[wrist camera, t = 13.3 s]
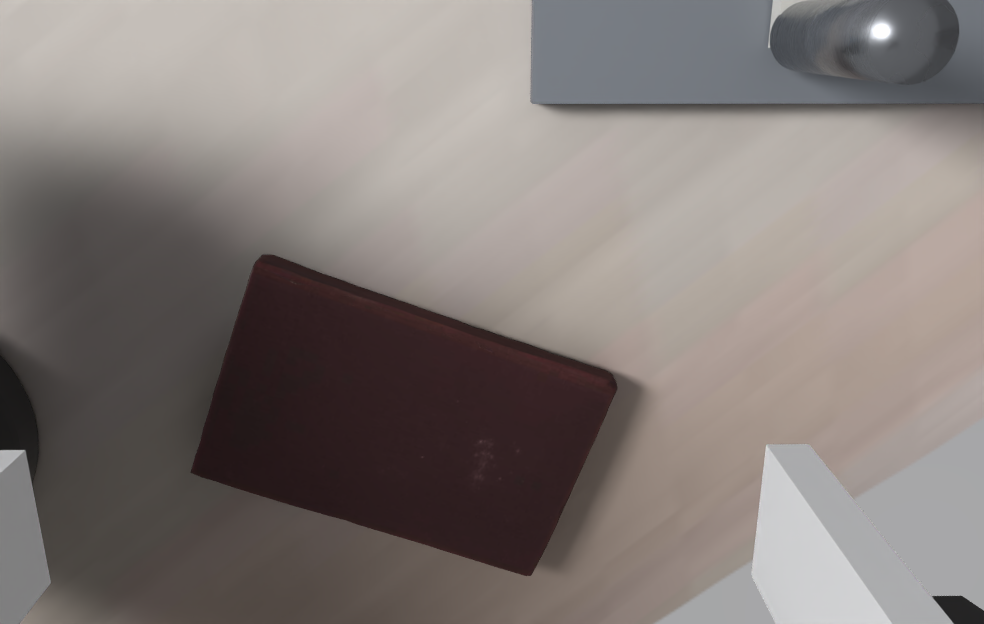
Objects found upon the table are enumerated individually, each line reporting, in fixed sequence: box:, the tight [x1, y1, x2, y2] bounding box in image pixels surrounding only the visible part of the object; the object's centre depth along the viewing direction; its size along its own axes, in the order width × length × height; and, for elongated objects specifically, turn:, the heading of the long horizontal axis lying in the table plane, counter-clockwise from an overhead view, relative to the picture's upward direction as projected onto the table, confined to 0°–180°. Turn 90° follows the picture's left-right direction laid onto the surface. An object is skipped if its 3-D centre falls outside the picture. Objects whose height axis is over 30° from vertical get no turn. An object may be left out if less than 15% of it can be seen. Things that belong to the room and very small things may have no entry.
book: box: [191, 255, 617, 576], centre depth 45 cm, size 13×19×3 cm, turn 69°
